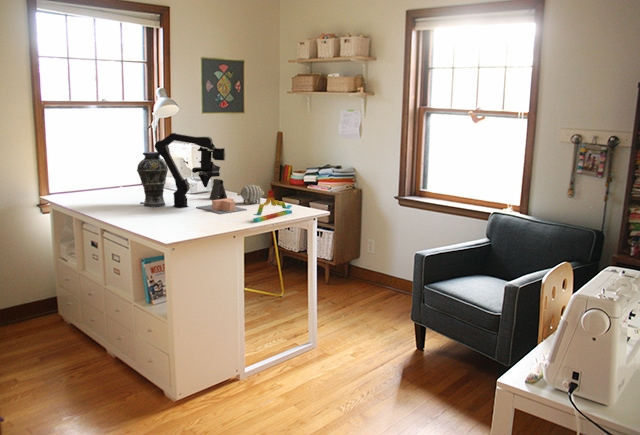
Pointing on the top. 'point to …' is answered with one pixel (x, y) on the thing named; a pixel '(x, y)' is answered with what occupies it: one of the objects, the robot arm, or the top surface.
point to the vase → (153, 178)
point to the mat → (209, 208)
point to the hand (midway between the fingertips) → (205, 187)
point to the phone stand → (218, 190)
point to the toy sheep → (251, 194)
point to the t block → (223, 204)
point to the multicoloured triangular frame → (273, 202)
